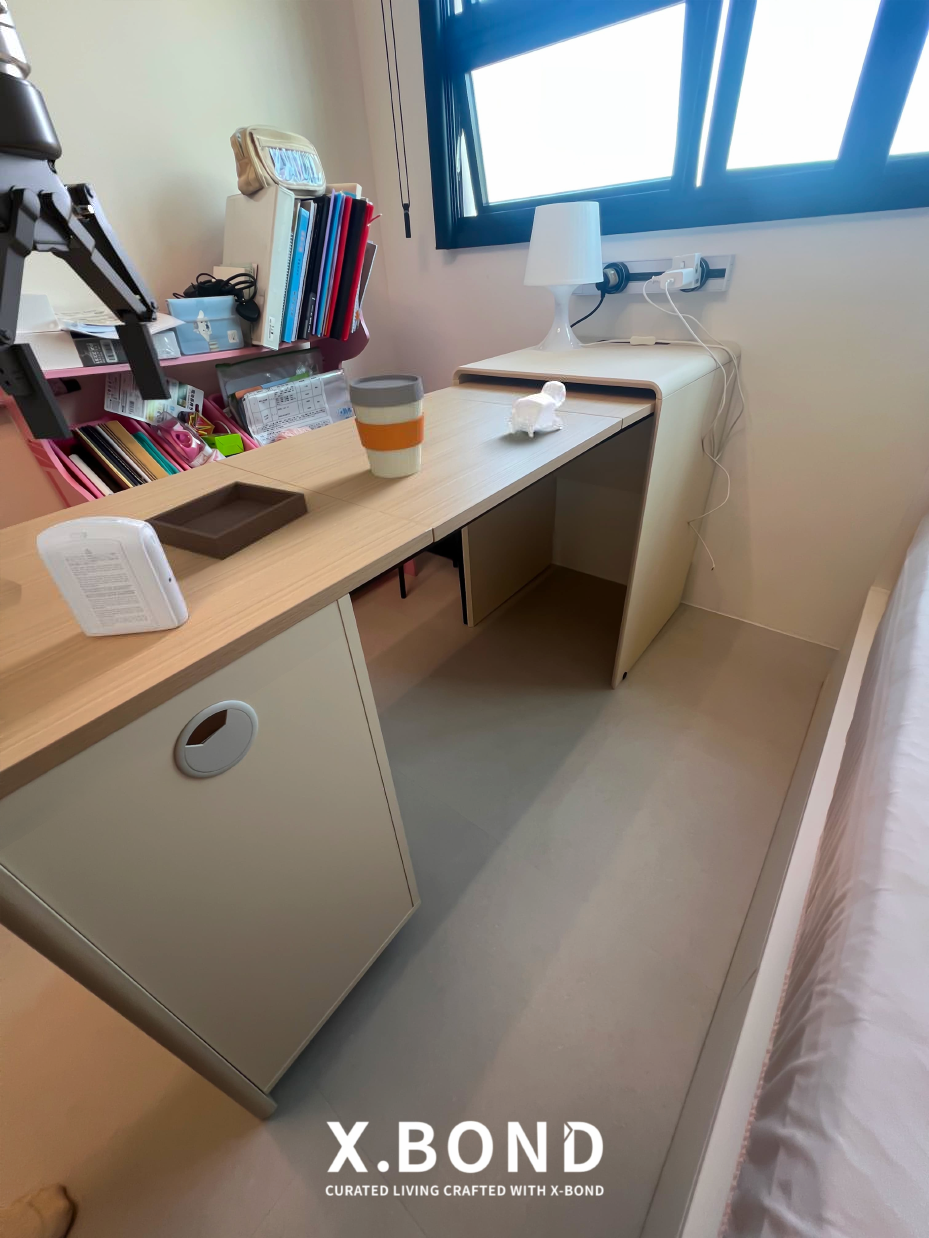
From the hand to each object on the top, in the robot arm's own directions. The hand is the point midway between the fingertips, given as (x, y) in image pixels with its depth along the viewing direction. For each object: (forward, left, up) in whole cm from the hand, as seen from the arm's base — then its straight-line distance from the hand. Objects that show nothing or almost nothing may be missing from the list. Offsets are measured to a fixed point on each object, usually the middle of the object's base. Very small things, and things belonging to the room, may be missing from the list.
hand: (112, 416), depth 45 cm
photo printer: (-5, +3, -21) cm, 22 cm away
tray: (+18, +14, -21) cm, 30 cm away
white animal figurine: (+82, -10, -21) cm, 85 cm away
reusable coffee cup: (+48, +5, -21) cm, 52 cm away
